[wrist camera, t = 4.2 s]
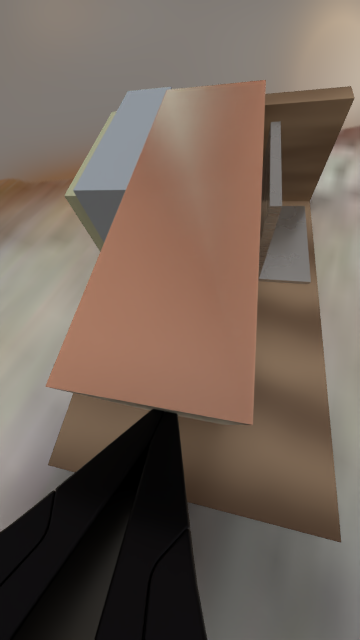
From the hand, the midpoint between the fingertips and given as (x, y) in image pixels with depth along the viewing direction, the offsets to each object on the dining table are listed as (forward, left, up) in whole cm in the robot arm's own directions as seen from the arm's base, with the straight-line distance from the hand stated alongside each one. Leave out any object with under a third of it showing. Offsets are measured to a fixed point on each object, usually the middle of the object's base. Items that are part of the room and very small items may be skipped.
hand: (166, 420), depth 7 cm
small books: (+6, +14, -8) cm, 17 cm away
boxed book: (+5, +5, -7) cm, 10 cm away
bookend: (+14, +7, -7) cm, 17 cm away
